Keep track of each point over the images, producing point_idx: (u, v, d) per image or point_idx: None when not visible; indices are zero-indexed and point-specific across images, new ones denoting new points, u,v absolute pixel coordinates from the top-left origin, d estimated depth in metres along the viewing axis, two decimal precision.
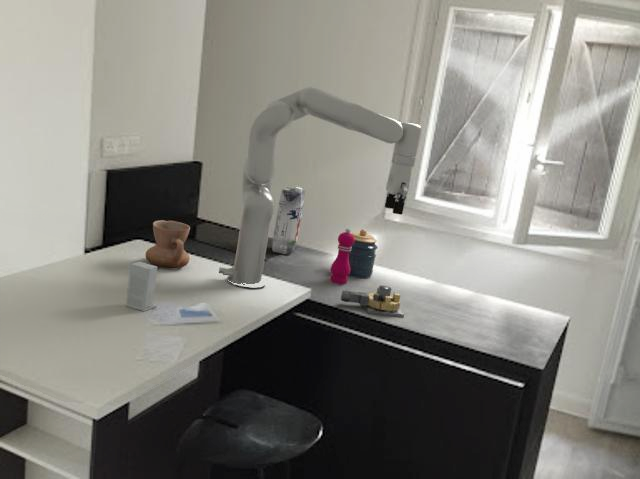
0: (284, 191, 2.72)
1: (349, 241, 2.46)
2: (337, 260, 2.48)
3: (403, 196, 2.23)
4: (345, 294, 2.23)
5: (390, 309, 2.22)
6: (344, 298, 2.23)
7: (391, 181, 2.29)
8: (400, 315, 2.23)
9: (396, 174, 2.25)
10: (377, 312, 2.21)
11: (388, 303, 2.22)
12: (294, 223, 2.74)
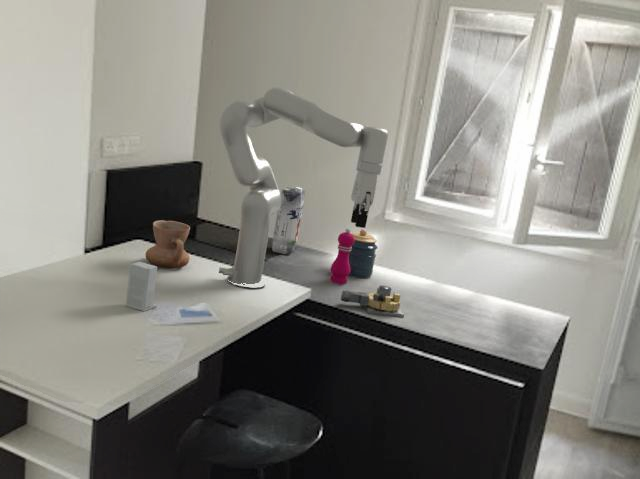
0: (284, 191, 2.72)
1: (349, 241, 2.46)
2: (337, 260, 2.48)
3: (365, 209, 2.09)
4: (345, 294, 2.23)
5: (390, 309, 2.22)
6: (344, 298, 2.23)
7: (356, 190, 2.13)
8: (400, 315, 2.23)
9: (361, 182, 2.09)
10: (377, 312, 2.21)
11: (388, 303, 2.22)
12: (294, 223, 2.74)
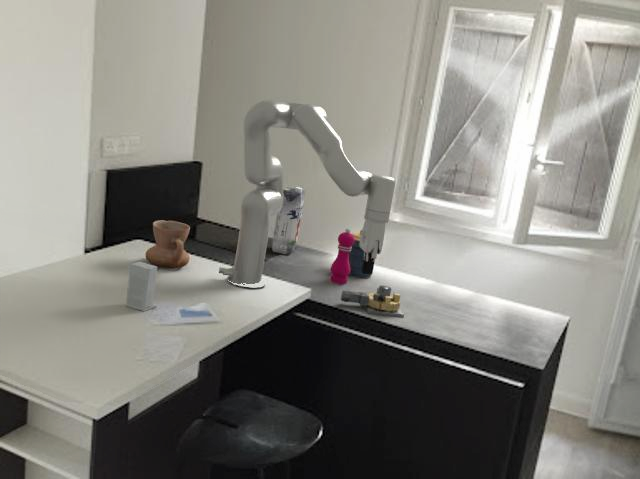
0: (284, 191, 2.72)
1: (349, 241, 2.46)
2: (337, 260, 2.48)
3: (372, 258, 2.11)
4: (345, 294, 2.23)
5: (390, 309, 2.22)
6: (344, 298, 2.23)
7: (364, 238, 2.12)
8: (400, 315, 2.23)
9: (369, 231, 2.08)
10: (377, 312, 2.21)
11: (388, 303, 2.22)
12: (294, 223, 2.74)
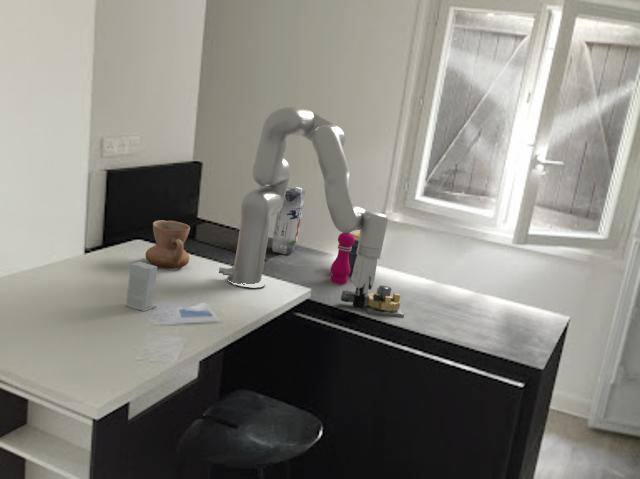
0: None
1: (349, 241, 2.46)
2: (337, 260, 2.48)
3: (363, 293, 2.14)
4: (345, 294, 2.23)
5: (390, 309, 2.22)
6: (344, 298, 2.23)
7: (356, 273, 2.15)
8: (400, 315, 2.23)
9: (361, 267, 2.11)
10: (377, 312, 2.21)
11: (388, 303, 2.22)
12: (294, 223, 2.74)
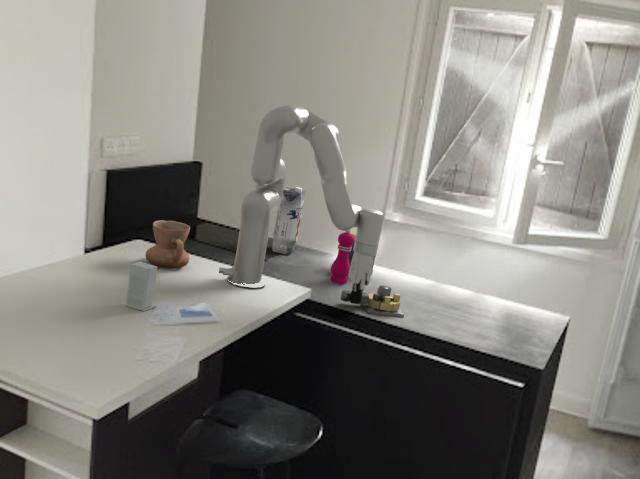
0: (284, 191, 2.72)
1: (349, 241, 2.46)
2: (337, 260, 2.48)
3: None
4: (345, 294, 2.23)
5: (390, 309, 2.22)
6: (344, 297, 2.23)
7: (353, 269, 2.19)
8: (400, 315, 2.23)
9: (357, 263, 2.15)
10: (377, 312, 2.21)
11: (388, 303, 2.22)
12: (294, 223, 2.74)
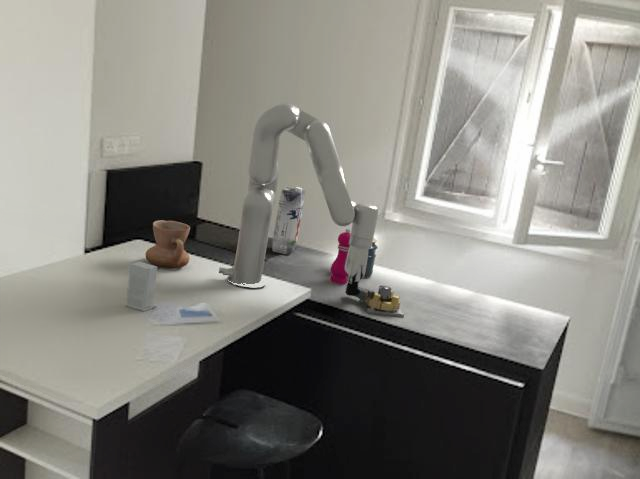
0: (284, 191, 2.72)
1: None
2: (337, 260, 2.48)
3: (355, 281, 2.25)
4: None
5: (377, 307, 2.22)
6: None
7: (349, 262, 2.26)
8: (400, 315, 2.23)
9: (353, 256, 2.23)
10: (377, 312, 2.21)
11: (376, 300, 2.22)
12: (294, 223, 2.74)
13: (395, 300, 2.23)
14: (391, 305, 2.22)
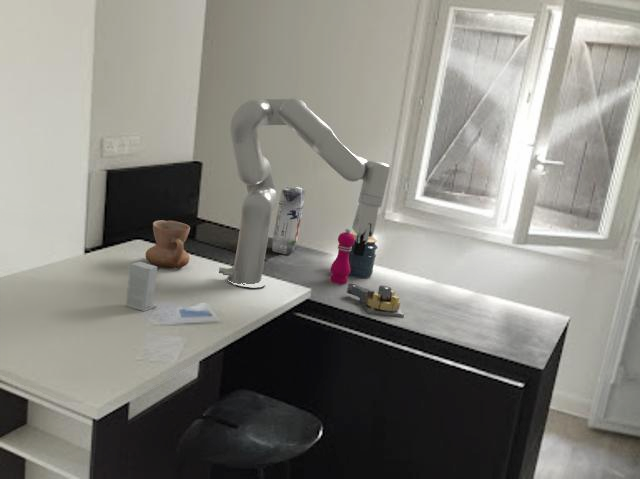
0: (284, 191, 2.72)
1: (349, 241, 2.46)
2: (337, 260, 2.48)
3: (363, 240, 2.20)
4: (348, 286, 2.33)
5: (376, 307, 2.22)
6: (347, 289, 2.34)
7: (357, 221, 2.21)
8: (400, 315, 2.23)
9: (362, 214, 2.17)
10: (377, 312, 2.21)
11: (375, 300, 2.22)
12: (294, 223, 2.74)
13: (394, 300, 2.23)
14: (390, 305, 2.22)
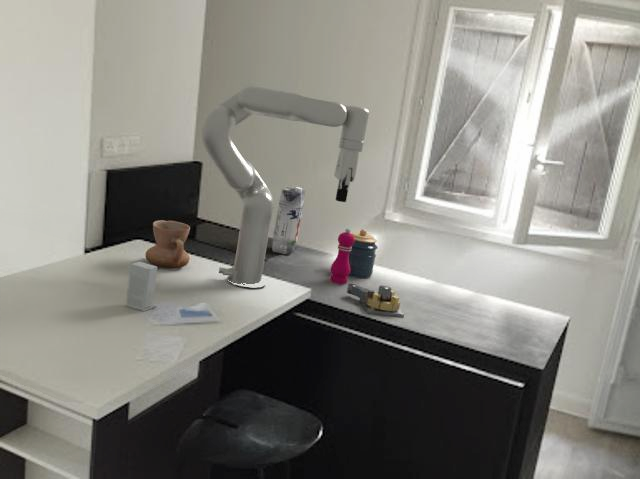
0: (284, 191, 2.72)
1: (349, 241, 2.46)
2: (337, 260, 2.48)
3: (345, 185, 2.21)
4: (348, 286, 2.33)
5: (376, 307, 2.22)
6: (347, 289, 2.34)
7: (338, 167, 2.23)
8: (400, 315, 2.23)
9: (343, 159, 2.19)
10: (377, 312, 2.21)
11: (375, 300, 2.22)
12: (294, 223, 2.74)
13: (394, 300, 2.23)
14: (390, 305, 2.22)
